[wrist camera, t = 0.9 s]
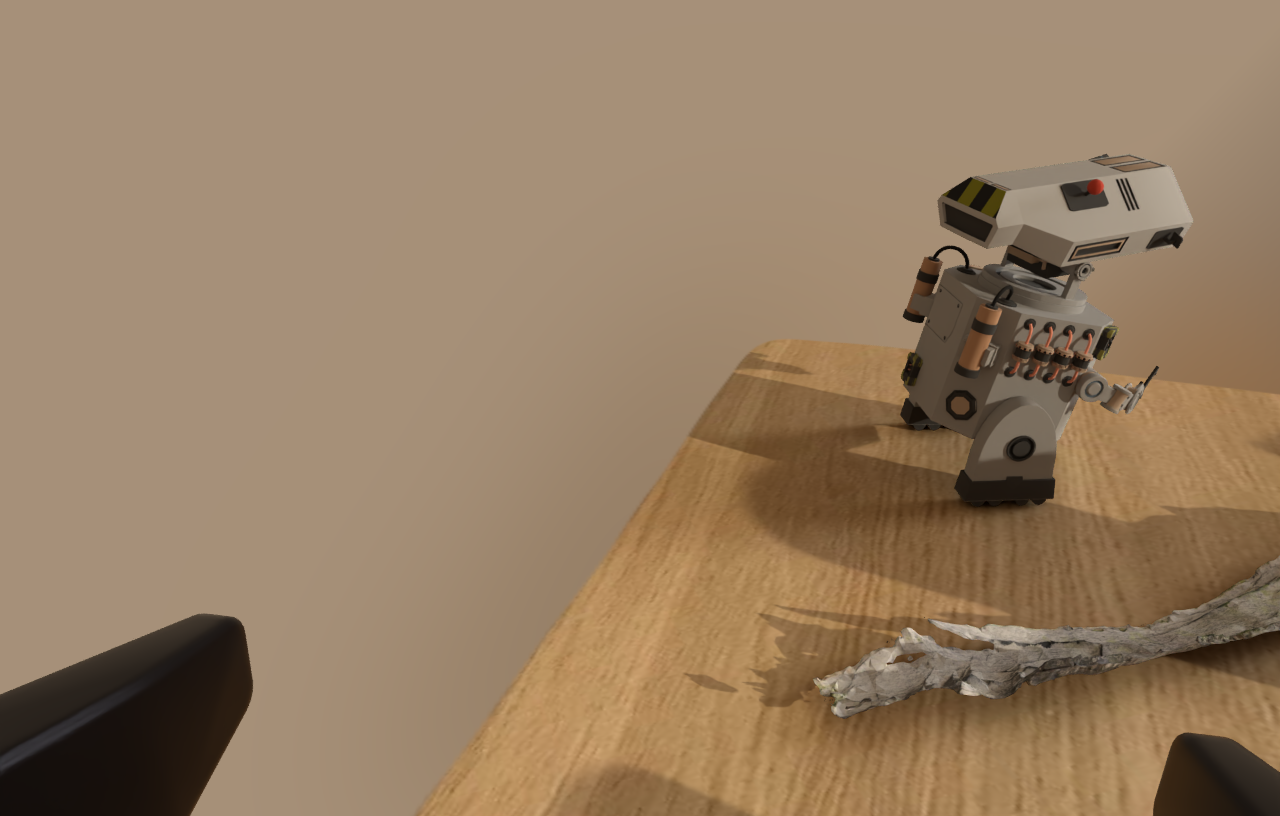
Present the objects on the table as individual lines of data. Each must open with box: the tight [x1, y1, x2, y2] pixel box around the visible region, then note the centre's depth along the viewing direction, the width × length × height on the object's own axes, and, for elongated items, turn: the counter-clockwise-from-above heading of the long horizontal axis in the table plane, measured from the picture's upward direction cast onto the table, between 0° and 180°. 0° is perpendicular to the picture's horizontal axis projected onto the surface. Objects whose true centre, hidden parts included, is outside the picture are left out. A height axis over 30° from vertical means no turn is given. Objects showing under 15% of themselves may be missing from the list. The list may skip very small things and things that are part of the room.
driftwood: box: [813, 556, 1280, 719], centre depth 34 cm, size 37×2×5 cm
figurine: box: [901, 154, 1193, 507], centre depth 42 cm, size 9×12×15 cm
